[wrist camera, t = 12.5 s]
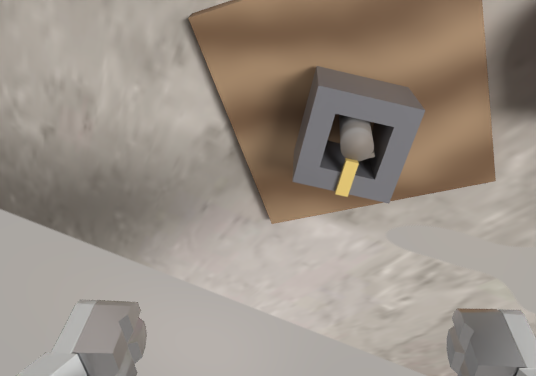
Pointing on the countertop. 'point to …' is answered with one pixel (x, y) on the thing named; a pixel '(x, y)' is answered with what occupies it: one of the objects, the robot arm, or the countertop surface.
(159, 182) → the countertop surface
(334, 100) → the square tunnel box
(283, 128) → the brown square board
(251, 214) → the countertop surface
